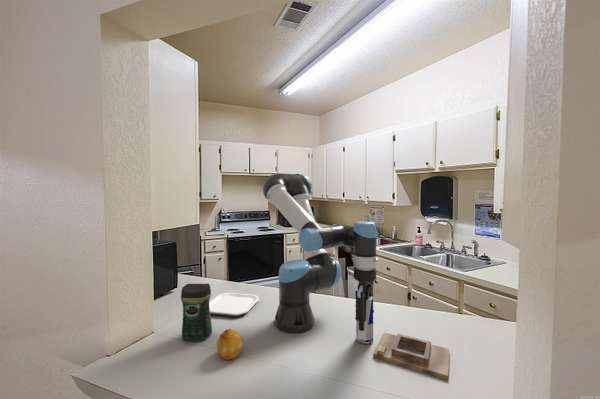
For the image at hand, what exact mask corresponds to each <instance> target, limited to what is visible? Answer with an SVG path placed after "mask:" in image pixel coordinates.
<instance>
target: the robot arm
mask: <svg viewBox="0 0 600 399" xmlns="http://www.w3.org/2000/svg"><path fill="white" fill-rule="evenodd" d="M262 184H263V185H262V193H263V196H264V198H265V199H266V201H267V202H269V204H271V205H274V206H275V207H276V209H277V210H278V211H279V212H280V213H281V214H282V216H283V217H284V218H285V219H286V220H287V221H288V223H289V224H290V225H291V226H292V227H293V228H294V230H295V231H296V232H297V234H298V237H297V238H298V243H299V247H300V248H301V249H302V250H303V251H304V255H305V257H304V259H297V260H296V259H293V260H288V261H286V262H284V263H282V264H281V265H280V267H279V270H278V281H279V282H278V294H279V295H278V302H279V304H278V306H277V310H276V313H275V317H274V326H275V328H277V329H278V330H279V331H281V332H283V333H284V332H285V333H289V334H299V333H304V332H307V331H309V330H311V328H313V326H314V324H315V316H314V313H313V309H312V307H311V304H310V294H312V293H316V292H319V291H324V290H329V289H331V288H332V287H335V286H337V285H338V284H339V283H340V281H341V278H342V268H341V264H340V263H339V261H338V260H337V259H336V258H333V257H332V256H331V253H330V251H327V250H326V249H331V248H332V249H333V248H337V247H338V248H339V247H342V246H343V247H348V248H353V266H354V267H353V278H354V279H355V280H356V281H358V284H357V287H356V288H357V290H355V291H354V294H355V318H354V319H355V321H356V320H357V321H358V339H362V340H365V341H366V340H367V320H366V300H368V299H369V296H372V297H373V298H374V283H375V281H377V269H376V268H377V263H378V262H379V259H378V258H377V239H378V234H377V225H376V223H375V222H374V221H365V220H364V221H361V220H359V221H358V220H357V221H355V222H354V223H353V226H352V225H347V224H343V223H334V224H332V225H331V226H321V225H320V224H319V223H318V222H317V221H316V220H315V216H314V213H313V211H312V207H311V205H310V202H309V201H310V199H311V196H312V193H313V190H312V189H313V183H312V181H311V179H310V178H309V177H308V176H307V175H305V174H303V173H302V174H300V173H281V172H278V173H277V172H276V173H272V174H270V175H269V176H268V177H266V179H265V180H264V182H263V183H262ZM364 296H366V297H364ZM374 313H375V309H373V314H374Z"/></svg>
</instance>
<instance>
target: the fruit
mask: <svg viewBox="0 0 600 399" xmlns="http://www.w3.org/2000/svg"><path fill="white" fill-rule="evenodd" d="M243 348H244V338H243V336H242V334H240V333H239V332H238V331H236V330H235V329H232V328H229V329H226V330H224V331H223V332H222V333H221V334H220V335H219V337H218V339H217V340H216V351H217V353H218V356H219V357H220V358H221V359H223V360H233V359H235V358H237V357H238V356H239V355H240V354H241V353H242V350H243Z"/></svg>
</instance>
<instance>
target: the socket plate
mask: <svg viewBox="0 0 600 399" xmlns="http://www.w3.org/2000/svg"><path fill="white" fill-rule="evenodd" d="M401 347H406V348H410V349H414V350H416V351H421V352H424V354H420V353H416V352H411V351H410V350H409V351H408V350H405V349H401ZM372 355H373V358H375V359H379V360H381V361H385V362H388V363H391V364H394V365H398V366H400V367H404V368H407V369H411V370H414V371H417V372H421V373H423V374H427V375H430V376H433V377H435V378H436V377H437V378H440V379H443V380H447V381H449V371H450V370H449V369H450V368H449V366H450V364H449V363H450V360H449V359H450V348H447V347H443V346H439V345H435V344H432V341H429V340H425V339H421V338H416V337H414V336H409V335H404V334H400V333H397V334H392V333H389V332H385V331H384V332H383V333H382V334H381V337H380V339H379V341H378V343H377V346H376V347H375V349H374V351H373V354H372Z"/></svg>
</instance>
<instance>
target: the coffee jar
mask: <svg viewBox="0 0 600 399" xmlns="http://www.w3.org/2000/svg"><path fill="white" fill-rule="evenodd" d="M211 296H212V289H211V286H210V283H186V284H185V285H184V286H183V287H182V288H181V292H180V301H181V303H182V324H181V325H182V326H181V327H182V328H181V338H182V340H183V341H185V342H201V341H205V340H206V339H208V338H209V337H210V336H211V334H212V332H213V328H212V327H213V326H212V325H213V324H212V317H211V314H210V309H209V302H210V299H211Z"/></svg>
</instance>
